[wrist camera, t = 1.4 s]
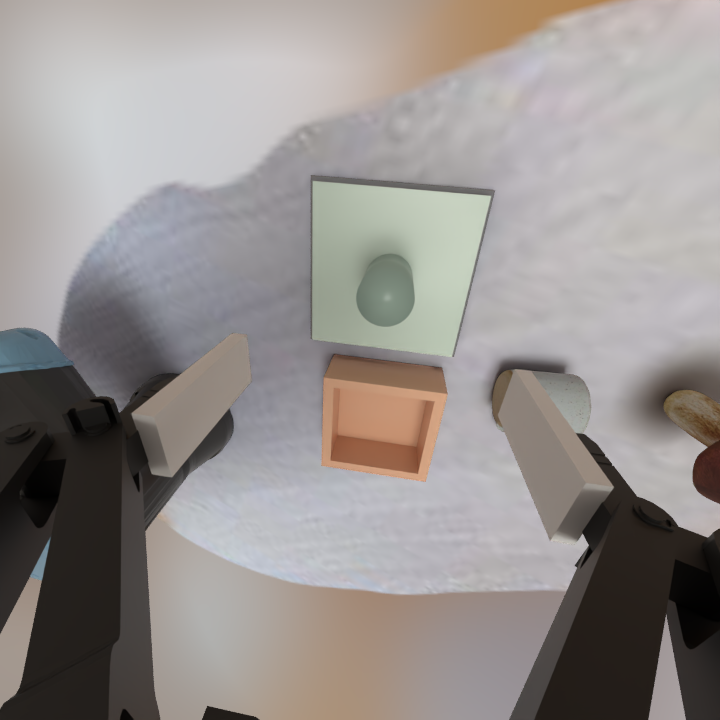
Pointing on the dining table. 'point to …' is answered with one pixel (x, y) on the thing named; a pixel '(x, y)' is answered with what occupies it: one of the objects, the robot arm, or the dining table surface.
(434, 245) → the lid
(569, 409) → the ceramic mug
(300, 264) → the dining table surface
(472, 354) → the dining table surface
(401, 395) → the dish
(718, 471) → the decorative mushroom
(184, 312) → the dining table surface
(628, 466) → the dining table surface
